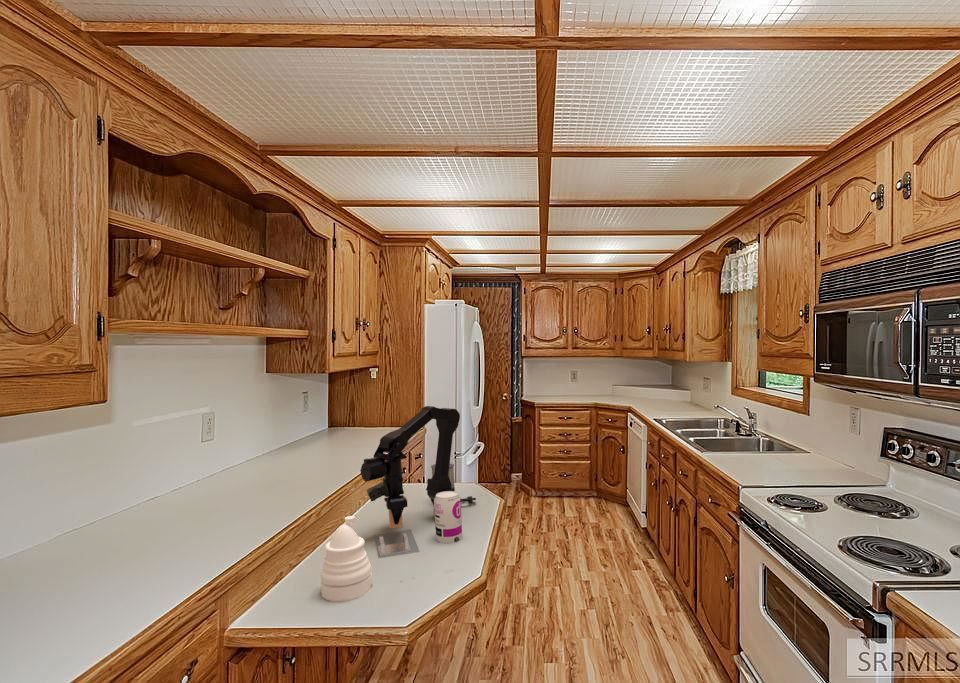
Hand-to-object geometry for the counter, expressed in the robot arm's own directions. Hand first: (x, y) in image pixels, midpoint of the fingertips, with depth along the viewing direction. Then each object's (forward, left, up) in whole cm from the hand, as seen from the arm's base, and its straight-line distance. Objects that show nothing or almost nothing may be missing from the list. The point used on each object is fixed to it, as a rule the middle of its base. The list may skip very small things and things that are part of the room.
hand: (395, 522), depth 168 cm
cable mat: (+1, +7, -5) cm, 8 cm away
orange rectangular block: (0, 0, -1) cm, 1 cm away
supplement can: (-15, +10, -6) cm, 19 cm away
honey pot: (+16, +30, -6) cm, 34 cm away
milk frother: (-25, -28, -6) cm, 38 cm away
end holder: (+2, +12, -4) cm, 13 cm away
